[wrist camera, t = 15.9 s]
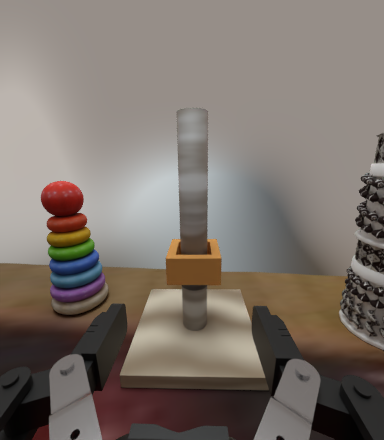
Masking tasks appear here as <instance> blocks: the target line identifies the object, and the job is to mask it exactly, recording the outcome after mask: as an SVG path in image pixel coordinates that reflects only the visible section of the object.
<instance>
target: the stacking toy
mask: <svg viewBox="0 0 384 440" xmlns="http://www.w3.org/2000/svg"><path fill="white" fill-rule="evenodd" d="M41 202H42V205H43V207H44V208H45V209H46V210H47V211H48V212H49V213H51V214H52V215H55V216H53V217H51V218H49V219H48V221H47V227H48V229H49V230H51V231H52V232H50V233H49V234H48V236H47V242H48V243H49V244H50V245H51V246H50V248H49V249H48V254H49V256H50V257H51V258H52V259H51V261H50V264H49V266H50V269H51V271H52V273H51V277H50V279H51V282H52V286H51V289H50V293H51V296H52V297H53V298H52V307H53V309H54V310H55V311H56V312H58V313H60V314H65V315H73V314H79V313H83V312H86V311H88V310H91V309H92V308H94V307H96V306H97V305H99V304H100V303H101V302H102V301H103V300H104V299H105V298H106V296H107V294H108V285H107V284H106V282H105V276H104V274H103V273H102V265H101V263H100V262H99V261H98V260H99V254H98V253H97V251H96V250H94V242H93V240H92V239H90V238H89V237H90V230H89V229H88V228H87V227H85V225H86V223H87V218H86V216H85V215H83V214H82V213H77V212H78V211H79V210H80V209H81V207H82V205H83V194H82V192H81V190H80V189H79V188H78V187H77V186H76V185H74V184H72V183H70V182H66V181H57V182H53V183H50V184H49V185H47V186H46V187H45V188H44V189H43V191H42V194H41Z"/></svg>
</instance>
